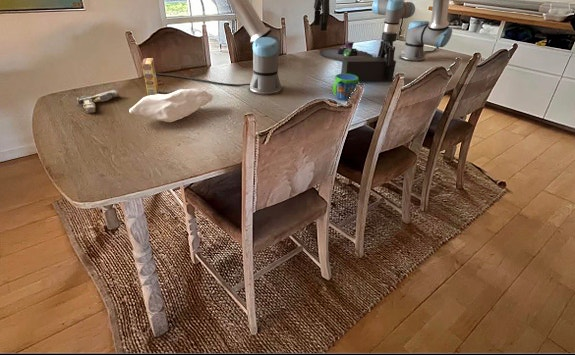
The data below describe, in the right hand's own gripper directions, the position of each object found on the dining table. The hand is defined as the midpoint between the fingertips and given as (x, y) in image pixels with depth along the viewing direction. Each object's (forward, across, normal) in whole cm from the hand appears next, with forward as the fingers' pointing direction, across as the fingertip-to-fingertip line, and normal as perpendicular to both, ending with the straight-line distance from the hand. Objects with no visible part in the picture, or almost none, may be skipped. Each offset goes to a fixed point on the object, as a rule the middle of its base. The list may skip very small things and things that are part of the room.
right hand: (382, 76), depth 199 cm
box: (+2, 0, +9) cm, 9 cm away
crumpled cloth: (+2, -40, +107) cm, 115 cm away
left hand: (-26, -6, +39) cm, 47 cm away
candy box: (+2, -17, +118) cm, 119 cm away
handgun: (+2, -27, +138) cm, 141 cm away
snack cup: (+2, -27, +30) cm, 41 cm away
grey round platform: (+2, +51, +5) cm, 51 cm away
